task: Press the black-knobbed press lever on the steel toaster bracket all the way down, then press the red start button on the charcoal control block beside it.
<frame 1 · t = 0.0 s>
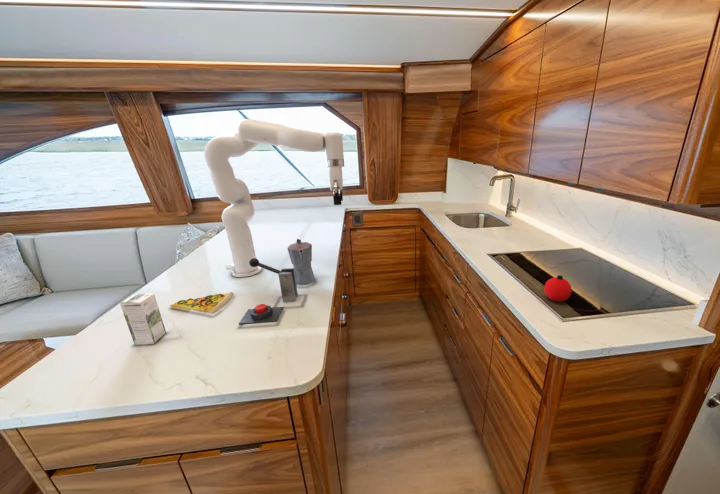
hand: (338, 202, 134), 31 cm above the counter, tool pointing down, fingers open, 9 cm apart
moka pot: (304, 283, 128), on the counter
ornament: (555, 300, 111), on the counter
control block: (262, 319, 102), on the counter
pizza slice: (200, 307, 110), on the counter
button: (260, 308, 100), point 4 cm above the counter, slide at 0.1 cm
lever: (270, 268, 107), point 14 cm above the counter, hinge at 28.0°
toaster bracket: (291, 301, 113), on the counter
syrup box: (151, 339, 92), on the counter
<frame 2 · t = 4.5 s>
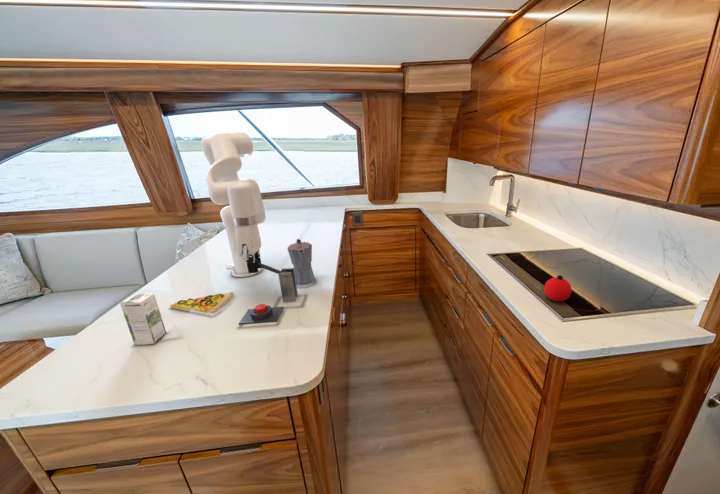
hand: (255, 269, 107), 14 cm above the counter, tool pointing down, fingers closed on lever, 3 cm apart
lever: (270, 268, 107), point 14 cm above the counter, hinge at 28.0°, touching gripper
everything else where it was.
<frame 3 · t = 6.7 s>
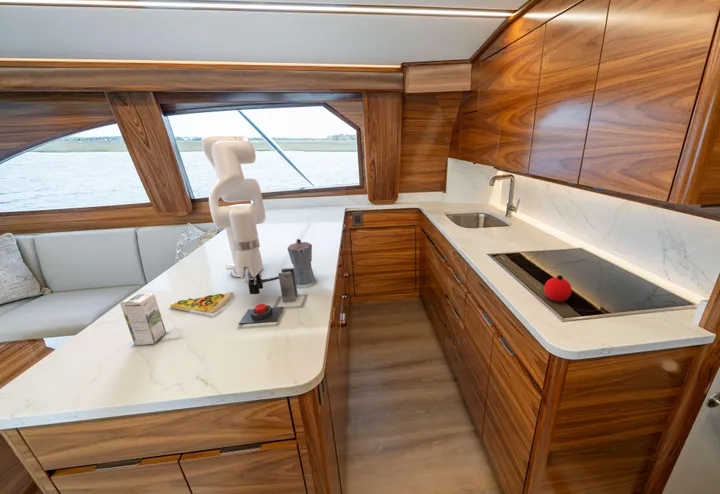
hand: (256, 290, 110), 6 cm above the counter, tool pointing down, fingers closed on lever, 3 cm apart
lever: (270, 279, 109), point 10 cm above the counter, hinge at -11.5°, touching gripper
everything else where it was.
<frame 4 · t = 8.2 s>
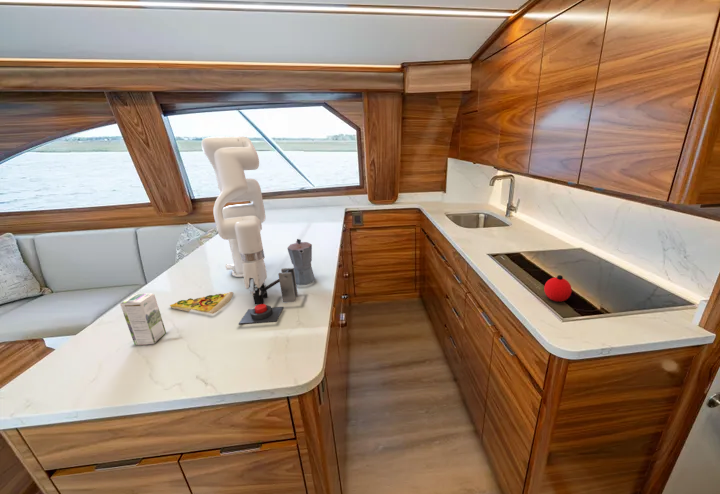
hand: (261, 300, 111), 1 cm above the counter, tool pointing down, fingers open, 3 cm apart
lever: (273, 283, 109), point 8 cm above the counter, hinge at -30.5°
everything else where it was.
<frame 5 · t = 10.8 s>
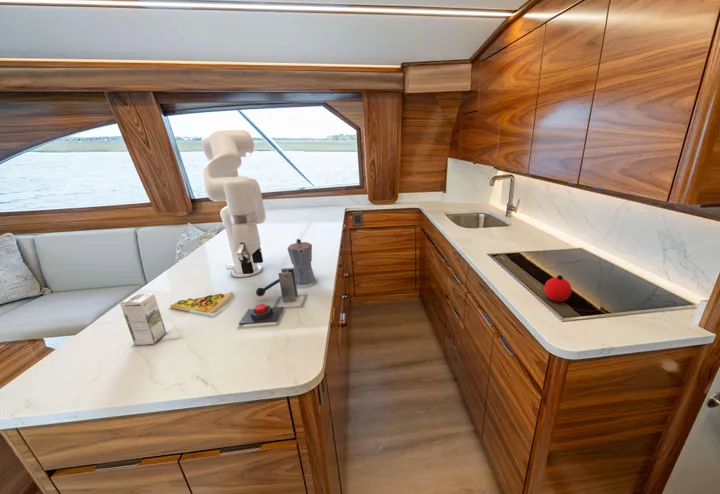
hand: (253, 267, 101), 17 cm above the counter, tool pointing down, fingers open, 9 cm apart
nothing on the counter moved.
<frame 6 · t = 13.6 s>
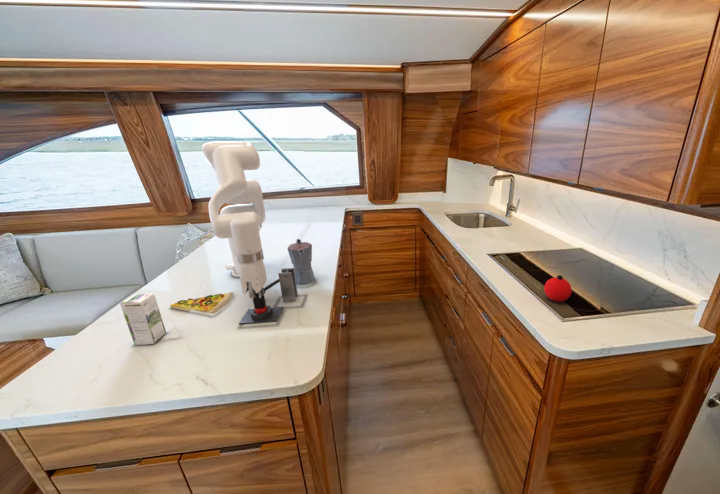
hand: (260, 307, 100), 5 cm above the counter, tool pointing down, fingers closed
button: (260, 309, 100), point 4 cm above the counter, slide at 0.0 cm, touching gripper
everything else where it was.
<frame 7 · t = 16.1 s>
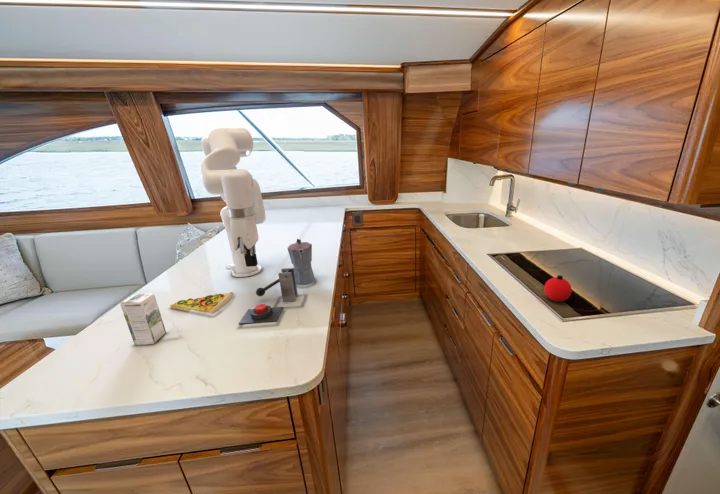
hand: (252, 265, 100), 18 cm above the counter, tool pointing down, fingers closed
button: (260, 308, 100), point 4 cm above the counter, slide at 0.1 cm
everything else where it was.
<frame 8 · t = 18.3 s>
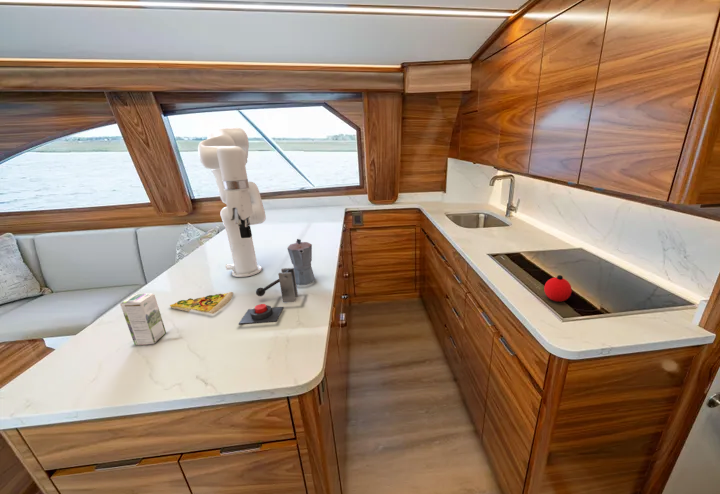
hand: (246, 237, 107), 25 cm above the counter, tool pointing down, fingers closed
nothing on the counter moved.
at the end: lever at -30° (first picture: +28°); button pushed in 1.1 cm at the most during the clip, back to where it started at the end; button slide at 0.1 cm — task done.
